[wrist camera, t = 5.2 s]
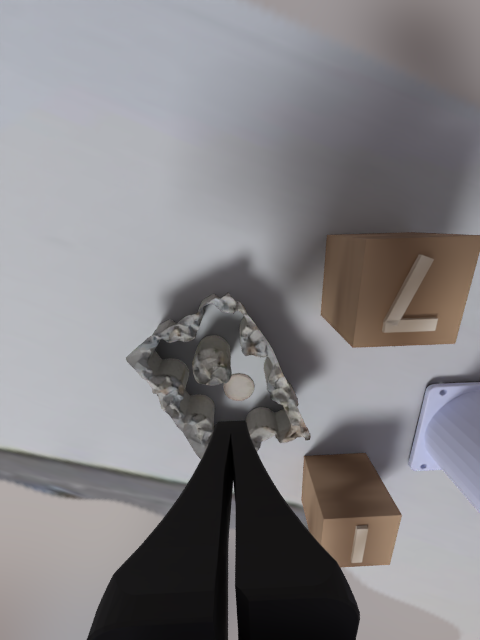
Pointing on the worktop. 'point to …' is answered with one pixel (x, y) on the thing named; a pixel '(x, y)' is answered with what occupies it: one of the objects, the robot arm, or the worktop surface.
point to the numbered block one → (349, 509)
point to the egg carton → (217, 379)
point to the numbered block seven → (397, 286)
